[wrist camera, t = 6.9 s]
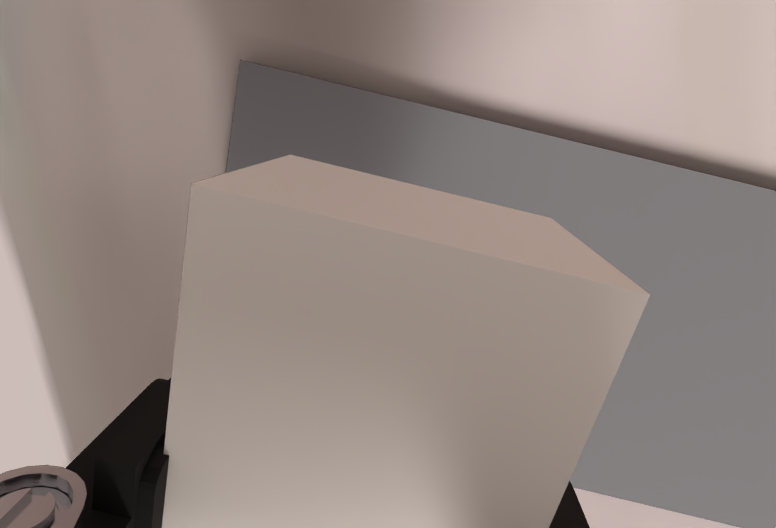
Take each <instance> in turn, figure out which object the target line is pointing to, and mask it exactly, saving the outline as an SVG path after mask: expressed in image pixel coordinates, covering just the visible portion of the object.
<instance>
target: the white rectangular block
mask: <svg viewBox="0 0 776 528" xmlns="http://www.w3.org/2000/svg"><path fill="white" fill-rule="evenodd" d="M649 297H650V294H649V293H647V292H646V291H645V290H644V289H642V288H641V287H640V286H638V285H637V284H636V283H635V282H633V281H632V280H631V279H629V278H628V277H627V276H625V275H624V274H623V273H622V272H620V271H619V270H618V269H616V268H615V267H614V266H613V265H611V264H610V263H609V262H607V261H606V260H605V259H603V258H602V257H601V256H600V255H598V254H597V253H596V252H594V251H593V250H592V249H591V248H589V247H588V246H587V245H585V244H584V243H583V242H581V241H580V240H579V239H578V238H576V237H575V236H574V235H572V234H571V233H570V232H569V231H567V230H566V229H565V228H563V227H562V226H561V225H560V224H558V223H557V222H556V221H554V220H553V219H552V218H549V217H545V216H541V215H537V214H532V213H528V212H524V211H520V210H516V209H512V208H508V207H504V206H500V205H496V204H491V203H487V202H483V201H479V200H475V199H471V198H467V197H463V196H459V195H454V194H450V193H446V192H442V191H438V190H434V189H430V188H426V187H422V186H418V185H413V184H409V183H405V182H401V181H397V180H393V179H389V178H385V177H381V176H376V175H372V174H368V173H364V172H360V171H356V170H352V169H348V168H344V167H340V166H335V165H331V164H327V163H323V162H319V161H315V160H311V159H307V158H303V157H298V156H294V155H287V156H284V157H280V158H277V159H273V160H270V161H267V162H263V163H260V164H256V165H253V166H249V167H246V168H242V169H239V170H235V171H232V172H229V173H225V174H222V175H218V176H215V177H211V178H208V179H204V180H201V181H197V182H194V183H191V191H190V200H189V210H188V220H187V230H186V239H185V249H184V259H183V269H182V278H181V288H180V298H179V308H178V317H177V327H176V337H175V347H174V356H173V366H172V376H171V386H170V395H169V405H168V415H167V424H166V434H165V444H164V454H166V455H169V464H168V474H167V483H166V492H165V502H164V511H163V520H162V528H549V526H550V524H551V522H552V520H553V517H554V515H555V513H556V510H557V508H558V506H559V503H560V501H561V499H562V497H563V494H564V492H565V490H566V487H567V485H568V483H569V480H570V478H571V476H572V474H573V471H574V469H575V467H576V464H577V462H578V460H579V458H580V455H581V453H582V451H583V448H584V446H585V444H586V441H587V439H588V437H589V435H590V432H591V430H592V428H593V425H594V423H595V421H596V418H597V416H598V414H599V412H600V409H601V407H602V405H603V402H604V400H605V398H606V396H607V393H608V391H609V389H610V386H611V384H612V382H613V379H614V377H615V375H616V373H617V370H618V368H619V366H620V363H621V361H622V359H623V356H624V354H625V352H626V350H627V347H628V345H629V343H630V340H631V338H632V336H633V333H634V331H635V329H636V327H637V324H638V322H639V320H640V317H641V315H642V313H643V311H644V308H645V306H646V304H647V301H648V299H649Z"/></svg>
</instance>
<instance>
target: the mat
mask: <svg viewBox="0 0 776 528" xmlns="http://www.w3.org/2000/svg"><path fill="white" fill-rule="evenodd" d="M287 155H294V156H298V157H303V158H307V159H311V160H315V161H319V162H323V163H327V164H331V165H335V166H340V167H344V168H348V169H352V170H356V171H360V172H364V173H368V174H372V175H376V176H381V177H385V178H389V179H393V180H397V181H401V182H405V183H409V184H413V185H418V186H422V187H426V188H430V189H434V190H438V191H442V192H446V193H450V194H454V195H459V196H463V197H467V198H471V199H475V200H479V201H483V202H487V203H491V204H496V205H500V206H504V207H508V208H512V209H516V210H520V211H524V212H528V213H532V214H537V215H541V216H545V217H549V218H552V219H553V220H554V221H556V222H557V223H558V224H560V225H561V226H562V227H563V228H565V229H566V230H567V231H569V232H570V233H571V234H572V235H574V236H575V237H576V238H578V239H579V240H580V241H581V242H583V243H584V244H585V245H587V246H588V247H589V248H591V249H592V250H593V251H594V252H596V253H597V254H598V255H600V256H601V257H602V258H603V259H605V260H606V261H607V262H609V263H610V264H611V265H613V266H614V267H615V268H616V269H618V270H619V271H620V272H622V273H623V274H624V275H625V276H627V277H628V278H629V279H631V280H632V281H633V282H635V283H636V284H637V285H638V286H640V287H641V288H642V289H644V290H645V291H646V292H647V293H649V294H650V297H649V299H648V301H647V304H646V306H645V308H644V311H643V313H642V315H641V317H640V320H639V322H638V324H637V327H636V329H635V331H634V333H633V336H632V338H631V340H630V343H629V345H628V347H627V350H626V352H625V354H624V356H623V359H622V361H621V363H620V366H619V368H618V370H617V373H616V375H615V377H614V379H613V382H612V384H611V386H610V389H609V391H608V393H607V396H606V398H605V400H604V402H603V405H602V407H601V409H600V412H599V414H598V416H597V418H596V421H595V423H594V425H593V428H592V430H591V432H590V435H589V437H588V439H587V441H586V444H585V446H584V448H583V451H582V453H581V455H580V458H579V460H578V462H577V464H576V467H575V469H574V471H573V474H572V476H571V478H570V482H571V484H572V486H573V487H574V488H578V489H583V490H587V491H591V492H595V493H599V494H603V495H608V496H612V497H616V498H620V499H624V500H628V501H632V502H637V503H641V504H645V505H649V506H653V507H657V508H662V509H666V510H670V511H674V512H678V513H682V514H687V515H691V516H695V517H699V518H703V519H707V520H712V521H716V522H720V523H724V524H728V525H732V526H737V527H741V528H775V527H776V191H775V190H770V189H766V188H762V187H758V186H754V185H750V184H746V183H742V182H738V181H734V180H730V179H725V178H721V177H717V176H713V175H709V174H705V173H701V172H697V171H693V170H689V169H685V168H681V167H676V166H672V165H668V164H664V163H660V162H656V161H652V160H648V159H644V158H640V157H636V156H631V155H627V154H623V153H619V152H615V151H611V150H607V149H603V148H599V147H595V146H591V145H587V144H582V143H578V142H574V141H570V140H566V139H562V138H558V137H554V136H550V135H546V134H542V133H537V132H533V131H529V130H525V129H521V128H517V127H513V126H509V125H505V124H501V123H497V122H493V121H488V120H484V119H480V118H476V117H472V116H468V115H464V114H460V113H456V112H452V111H448V110H443V109H439V108H435V107H431V106H427V105H423V104H419V103H415V102H411V101H407V100H403V99H399V98H394V97H390V96H386V95H382V94H378V93H374V92H370V91H366V90H362V89H358V88H354V87H349V86H345V85H341V84H337V83H333V82H329V81H325V80H321V79H317V78H313V77H309V76H305V75H300V74H296V73H292V72H288V71H284V70H280V69H276V68H272V67H268V66H264V65H260V64H255V63H251V62H247V61H243V60H240V66H239V73H238V81H237V89H236V97H235V105H234V112H233V120H232V128H231V136H230V143H229V151H228V159H227V167H226V173H229V172H232V171H235V170H239V169H242V168H246V167H249V166H253V165H256V164H260V163H263V162H267V161H270V160H273V159H277V158H280V157H284V156H287Z"/></svg>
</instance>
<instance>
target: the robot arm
mask: <svg viewBox="0 0 776 528" xmlns="http://www.w3.org/2000/svg"><path fill="white" fill-rule="evenodd" d="M170 386H171V378H170V379H169V380H164V379H156V380H155V381H154V382H152V383H151V384H150V385H149V386H148V387H147V388H146V389H145V390H144V391H143V392H142V393H141V394H140V395H139V396H138V397H137V398H136V399H135V400H134V401H133V402H132V403H131V404H130V405H129V406H128V407H127V408H126V409H125V410H124V411H123V412H122V413H121V414H120V415H119V416H118V417H117V418H116V419H115V420H114V421H113V422H112V423H111V424H110V425H109V426H108V427H107V428H106V429H105V430H103V431H102V432H101V433H100V434H99V435H98V436H97V437H96V438H95V439H94V440H93V441H92V442H91V443H90V444H89V445H88V446H87V447H86V448H85V449H84V450H83V451H82V452H81V453H80V454H79V455H78V456H77V457H76V458H75V459H74V460H73V461H72V462H71V463H70V464H69V465H68V466H67V467H66V468H64V467H58V466H49V465H39V466H27V467H23V468H19V469H15V470H11V471H7V472H5V473H2V474H0V528H162V520H163V511H164V502H165V492H166V483H167V474H168V464H169V455H166V454H164V444H165V434H166V424H167V415H168V405H169V395H170ZM549 528H590V527H589V525H588V523H587V520H586V518H585V515H584V513H583V510H582V508H581V506H580V503H579V501H578V498H577V496H576V494H575V491H574V489H573V486H572V484H571V482H570V480H569V483H568V485H567V487H566V490H565V492H564V494H563V497H562V499H561V501H560V503H559V506H558V508H557V510H556V513H555V515H554V517H553V520H552V522H551V524H550V526H549Z"/></svg>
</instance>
